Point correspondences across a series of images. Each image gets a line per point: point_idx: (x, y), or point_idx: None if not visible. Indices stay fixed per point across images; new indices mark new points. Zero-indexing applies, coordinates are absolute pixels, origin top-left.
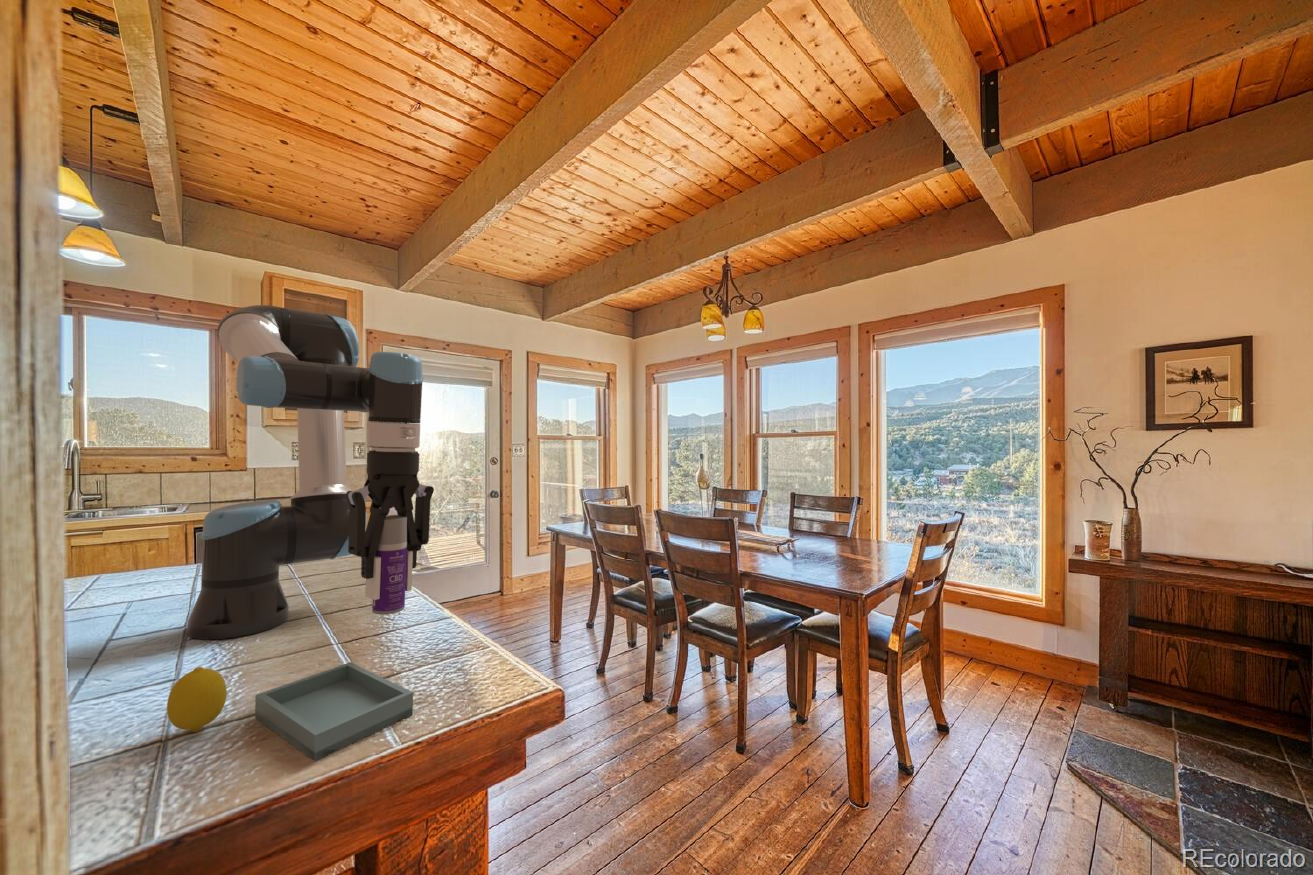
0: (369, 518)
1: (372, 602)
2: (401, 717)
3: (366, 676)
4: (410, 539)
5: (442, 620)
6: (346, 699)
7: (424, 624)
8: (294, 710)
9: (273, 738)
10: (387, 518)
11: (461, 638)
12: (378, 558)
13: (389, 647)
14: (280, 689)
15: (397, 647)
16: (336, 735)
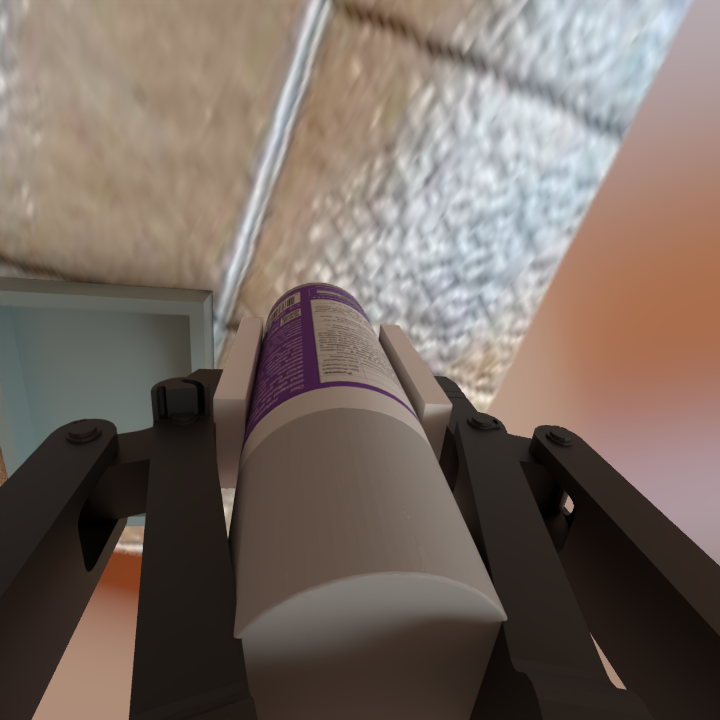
0: (135, 654)
1: (269, 319)
2: None
3: None
4: None
5: (600, 139)
6: (150, 391)
7: (555, 115)
8: (55, 351)
9: None
10: (294, 717)
11: (509, 301)
12: (230, 485)
13: (386, 185)
14: (21, 304)
15: (396, 205)
16: None
